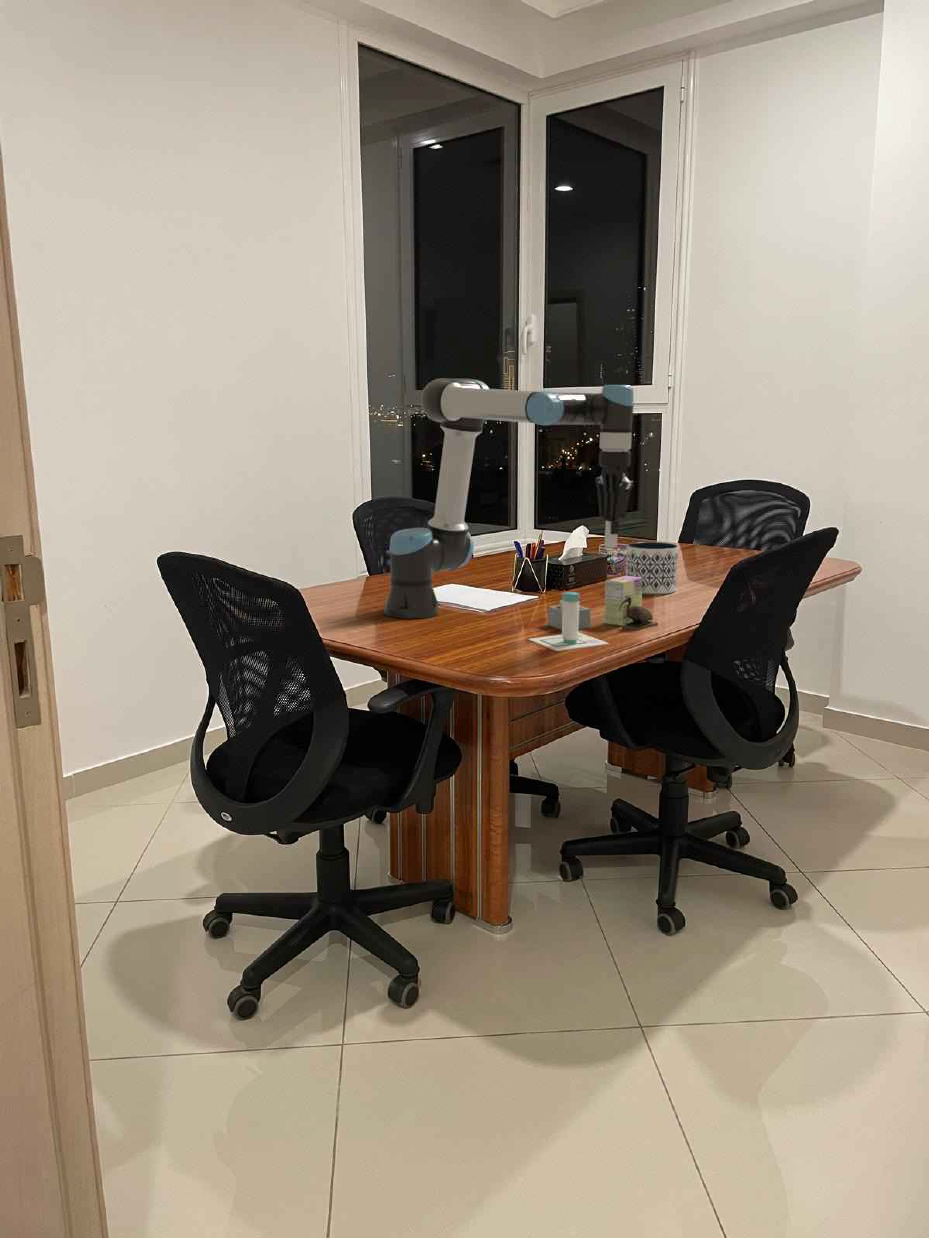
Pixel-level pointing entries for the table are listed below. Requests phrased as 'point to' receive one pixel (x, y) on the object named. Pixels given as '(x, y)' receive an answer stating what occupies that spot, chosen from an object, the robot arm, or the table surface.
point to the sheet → (559, 645)
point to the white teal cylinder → (570, 617)
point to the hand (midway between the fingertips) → (610, 546)
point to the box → (621, 598)
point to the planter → (653, 566)
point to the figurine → (638, 617)
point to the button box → (556, 617)
